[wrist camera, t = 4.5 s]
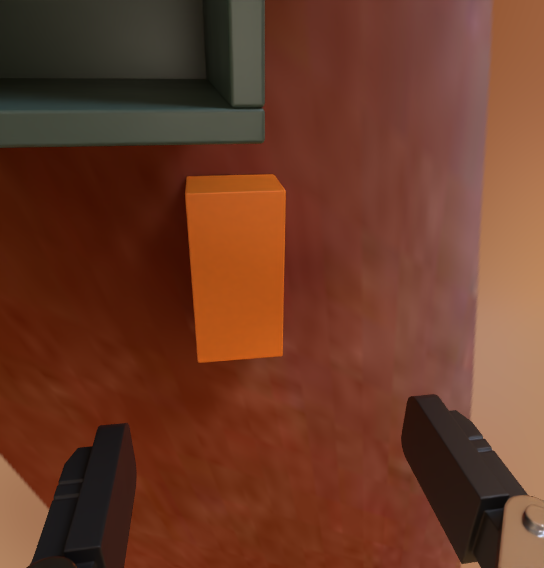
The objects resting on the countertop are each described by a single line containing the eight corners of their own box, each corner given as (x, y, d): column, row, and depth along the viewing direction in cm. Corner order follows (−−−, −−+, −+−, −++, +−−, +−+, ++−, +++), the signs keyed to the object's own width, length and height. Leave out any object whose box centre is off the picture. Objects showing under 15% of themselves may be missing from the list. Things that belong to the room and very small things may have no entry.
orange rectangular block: (197, 328, 27) (197, 363, 24) (186, 176, 23) (184, 193, 20) (272, 323, 27) (282, 356, 24) (274, 173, 24) (286, 190, 20)
